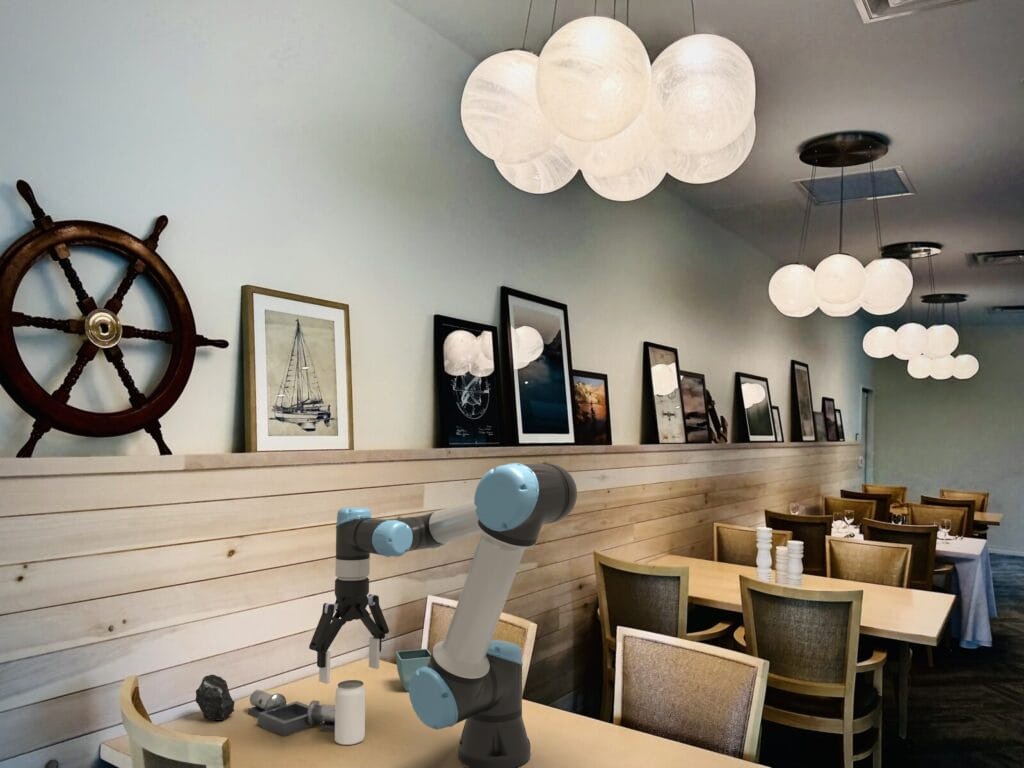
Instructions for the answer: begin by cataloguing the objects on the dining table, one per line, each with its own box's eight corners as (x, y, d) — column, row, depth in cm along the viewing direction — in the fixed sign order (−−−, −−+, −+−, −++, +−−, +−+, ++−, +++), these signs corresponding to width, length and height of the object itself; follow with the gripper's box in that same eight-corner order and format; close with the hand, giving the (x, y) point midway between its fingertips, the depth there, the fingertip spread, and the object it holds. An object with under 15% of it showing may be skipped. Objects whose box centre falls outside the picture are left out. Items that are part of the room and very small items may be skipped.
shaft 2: (306, 730, 167) (307, 704, 168) (316, 721, 172) (316, 697, 173) (343, 732, 166) (343, 706, 166) (351, 724, 171) (352, 699, 171)
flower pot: (394, 684, 199) (395, 650, 200) (427, 681, 202) (427, 648, 203) (399, 695, 191) (400, 659, 192) (433, 691, 194) (433, 656, 194)
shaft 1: (286, 715, 176) (286, 691, 177) (266, 721, 172) (267, 697, 173) (265, 707, 182) (266, 684, 182) (246, 713, 178) (247, 689, 178)
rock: (191, 722, 172) (193, 678, 173) (212, 711, 179) (213, 669, 180) (220, 725, 170) (221, 681, 171) (239, 715, 177) (241, 672, 178)
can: (357, 747, 158) (358, 689, 159) (329, 744, 159) (330, 687, 160) (369, 735, 164) (370, 680, 165) (342, 733, 165) (343, 678, 166)
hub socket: (322, 723, 171) (322, 710, 172) (283, 736, 163) (283, 723, 164) (296, 713, 178) (296, 701, 178) (257, 725, 170) (258, 713, 170)
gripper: (384, 568, 177) (382, 658, 175) (294, 583, 158) (291, 684, 156) (405, 572, 172) (403, 665, 170) (315, 587, 153) (312, 692, 151)
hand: (349, 674), depth 163 cm, fingers open, 13 cm apart
